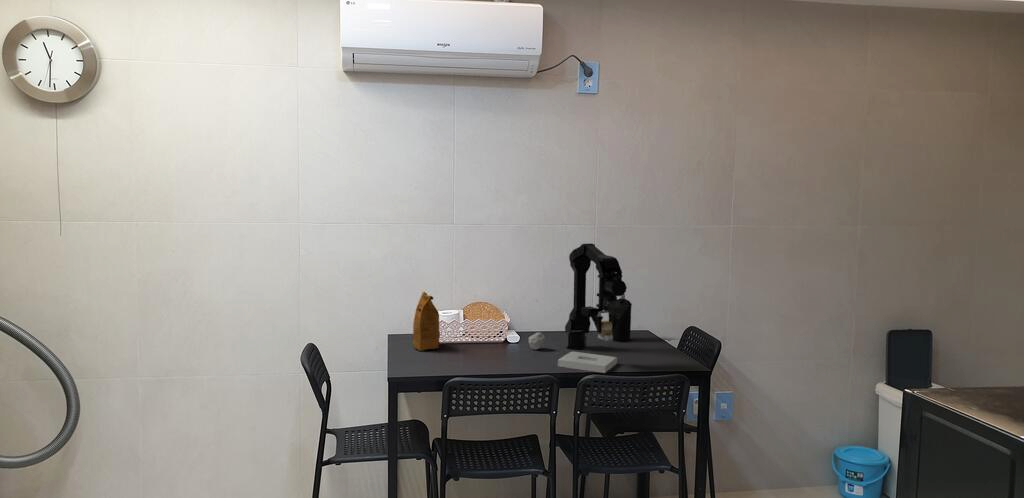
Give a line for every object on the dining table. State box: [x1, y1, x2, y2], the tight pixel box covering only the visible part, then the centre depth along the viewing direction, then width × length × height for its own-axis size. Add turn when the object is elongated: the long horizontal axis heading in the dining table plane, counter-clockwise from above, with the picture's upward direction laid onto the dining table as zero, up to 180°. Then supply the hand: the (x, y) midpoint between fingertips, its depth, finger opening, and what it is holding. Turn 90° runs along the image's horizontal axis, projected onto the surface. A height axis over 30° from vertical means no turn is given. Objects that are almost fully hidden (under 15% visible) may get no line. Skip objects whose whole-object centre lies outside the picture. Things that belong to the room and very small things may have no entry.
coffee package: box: [412, 291, 441, 352], centre depth 286 cm, size 10×12×22 cm
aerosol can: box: [612, 293, 633, 343], centre depth 305 cm, size 8×8×20 cm
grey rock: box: [527, 332, 546, 351], centre depth 287 cm, size 6×7×7 cm
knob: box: [597, 320, 614, 342], centre depth 265 cm, size 6×5×6 cm
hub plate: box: [557, 350, 618, 374], centre depth 265 cm, size 18×14×2 cm
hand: (605, 333), depth 265 cm, fingers closed on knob, 5 cm apart
